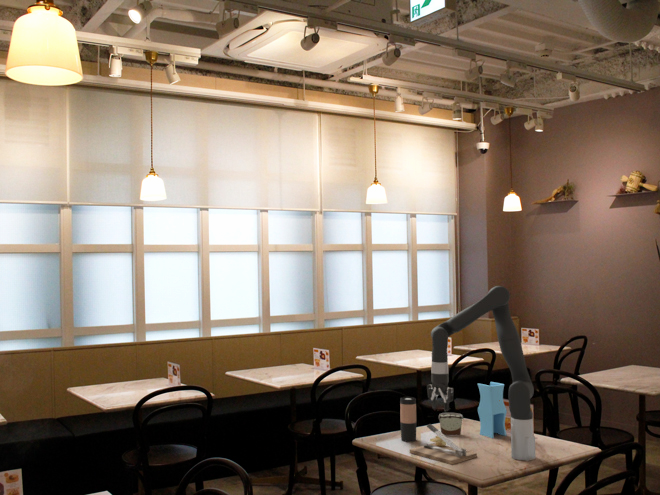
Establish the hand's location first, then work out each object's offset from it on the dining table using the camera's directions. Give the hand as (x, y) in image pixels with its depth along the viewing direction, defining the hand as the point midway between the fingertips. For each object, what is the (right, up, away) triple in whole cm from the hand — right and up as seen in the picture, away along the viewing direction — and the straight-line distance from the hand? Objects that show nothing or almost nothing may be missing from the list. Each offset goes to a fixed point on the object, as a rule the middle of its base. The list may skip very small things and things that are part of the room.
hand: (440, 409), depth 291 cm
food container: (+11, -21, +36) cm, 43 cm away
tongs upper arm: (+1, -13, -2) cm, 13 cm away
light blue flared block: (+31, -21, +33) cm, 50 cm away
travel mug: (-11, -21, +25) cm, 34 cm away
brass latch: (0, -18, +7) cm, 20 cm away
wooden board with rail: (+1, -20, -2) cm, 20 cm away
